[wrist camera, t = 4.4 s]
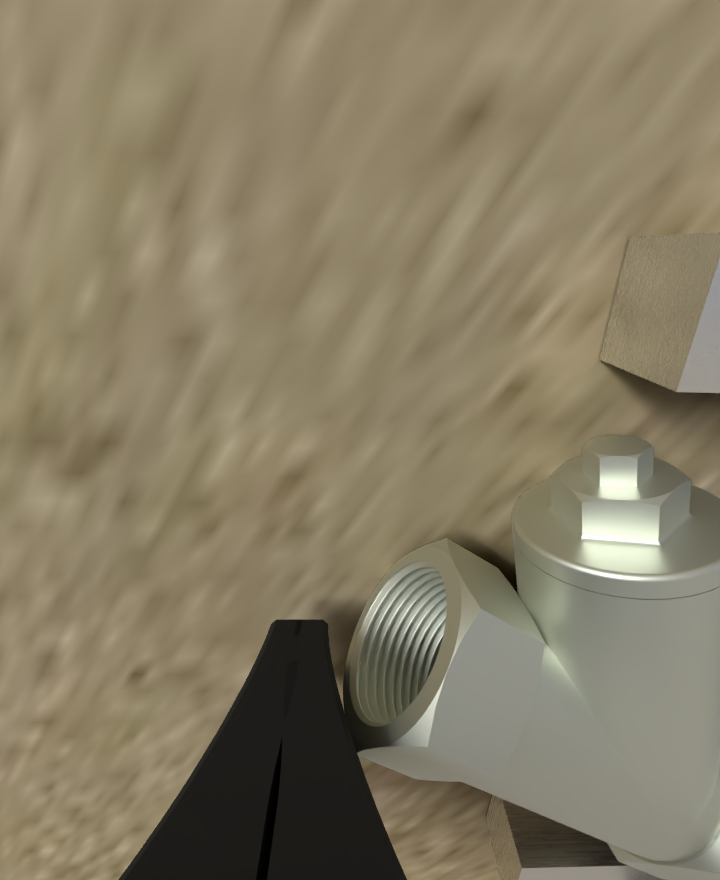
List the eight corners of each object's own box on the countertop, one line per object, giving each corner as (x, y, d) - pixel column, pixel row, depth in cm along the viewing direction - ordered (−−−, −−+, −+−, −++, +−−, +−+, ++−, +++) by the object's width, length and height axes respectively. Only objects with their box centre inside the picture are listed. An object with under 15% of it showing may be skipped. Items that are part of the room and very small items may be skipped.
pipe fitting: (534, 375, 8) (339, 623, 10) (694, 445, 5) (348, 817, 6) (781, 561, 10) (587, 744, 12) (1030, 710, 7) (703, 946, 8)
